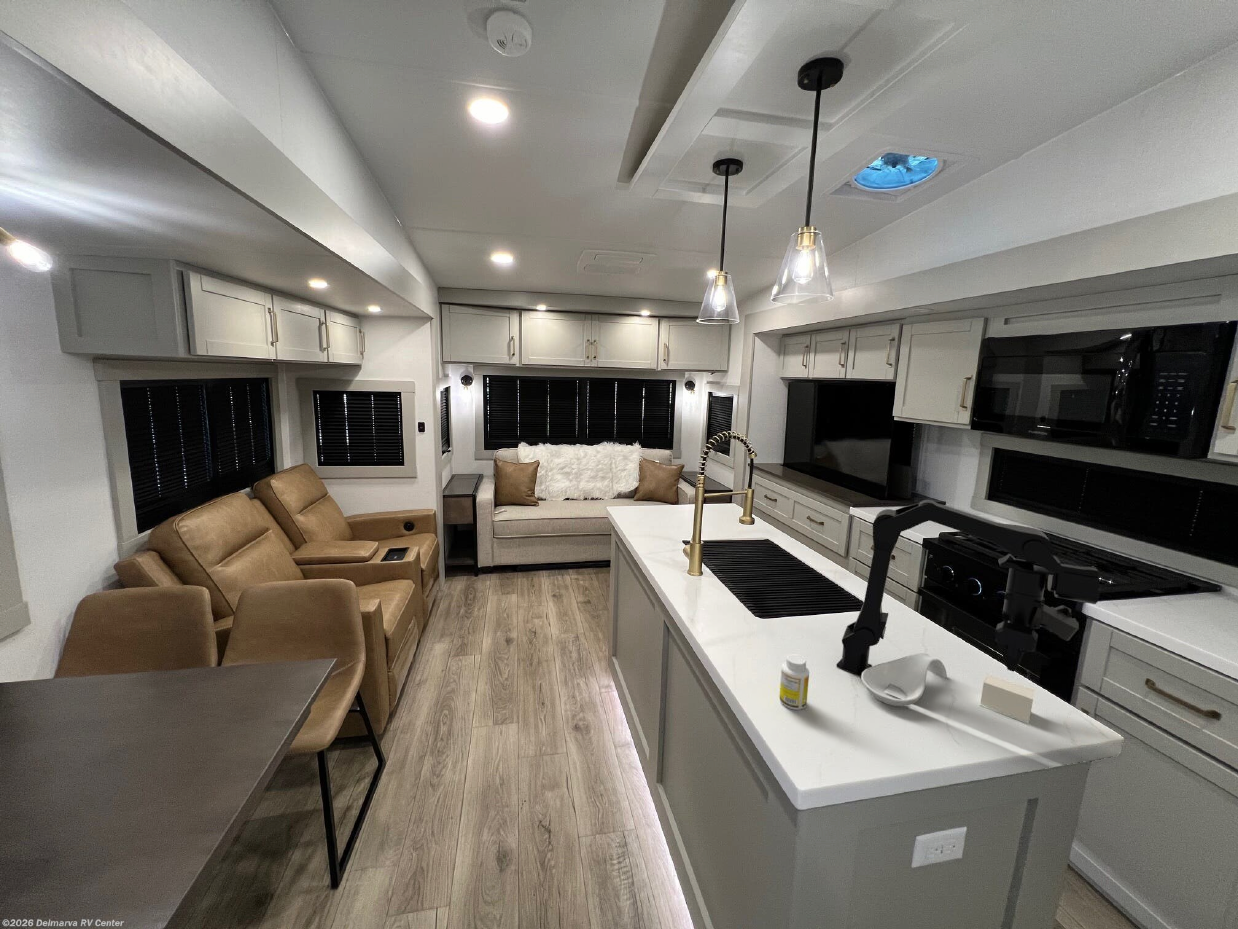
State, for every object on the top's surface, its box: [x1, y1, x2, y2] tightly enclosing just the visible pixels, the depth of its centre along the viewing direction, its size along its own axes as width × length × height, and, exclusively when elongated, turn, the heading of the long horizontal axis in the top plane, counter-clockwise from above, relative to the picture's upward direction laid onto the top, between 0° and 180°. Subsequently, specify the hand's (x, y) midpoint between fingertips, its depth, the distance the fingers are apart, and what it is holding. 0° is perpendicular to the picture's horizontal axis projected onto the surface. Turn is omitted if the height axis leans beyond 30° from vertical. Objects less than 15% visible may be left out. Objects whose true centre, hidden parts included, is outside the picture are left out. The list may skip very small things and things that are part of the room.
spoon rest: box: [860, 651, 948, 707], centre depth 109 cm, size 24×12×7 cm, turn 118°
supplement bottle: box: [779, 653, 810, 711], centre depth 103 cm, size 6×6×10 cm
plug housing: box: [979, 673, 1035, 723], centre depth 101 cm, size 4×8×5 cm, turn 46°
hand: (1013, 661), depth 100 cm, fingers open, 9 cm apart
